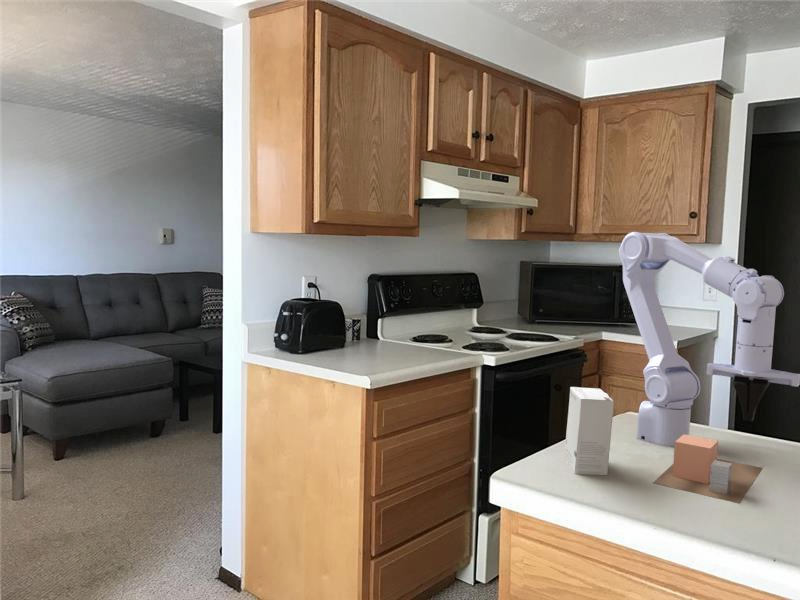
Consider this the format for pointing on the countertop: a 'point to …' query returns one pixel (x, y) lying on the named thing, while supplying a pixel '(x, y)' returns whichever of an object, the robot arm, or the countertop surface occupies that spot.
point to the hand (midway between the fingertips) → (748, 419)
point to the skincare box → (588, 431)
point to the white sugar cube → (720, 477)
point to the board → (739, 482)
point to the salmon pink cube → (694, 458)
